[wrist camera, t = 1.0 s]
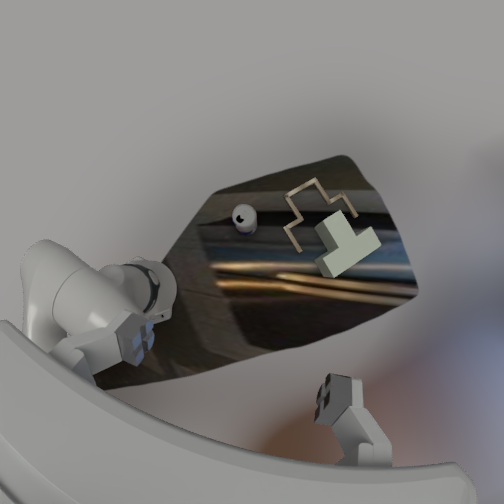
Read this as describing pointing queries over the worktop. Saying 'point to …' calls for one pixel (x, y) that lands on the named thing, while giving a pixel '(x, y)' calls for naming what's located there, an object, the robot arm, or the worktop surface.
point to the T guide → (297, 214)
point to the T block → (342, 245)
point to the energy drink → (244, 219)
